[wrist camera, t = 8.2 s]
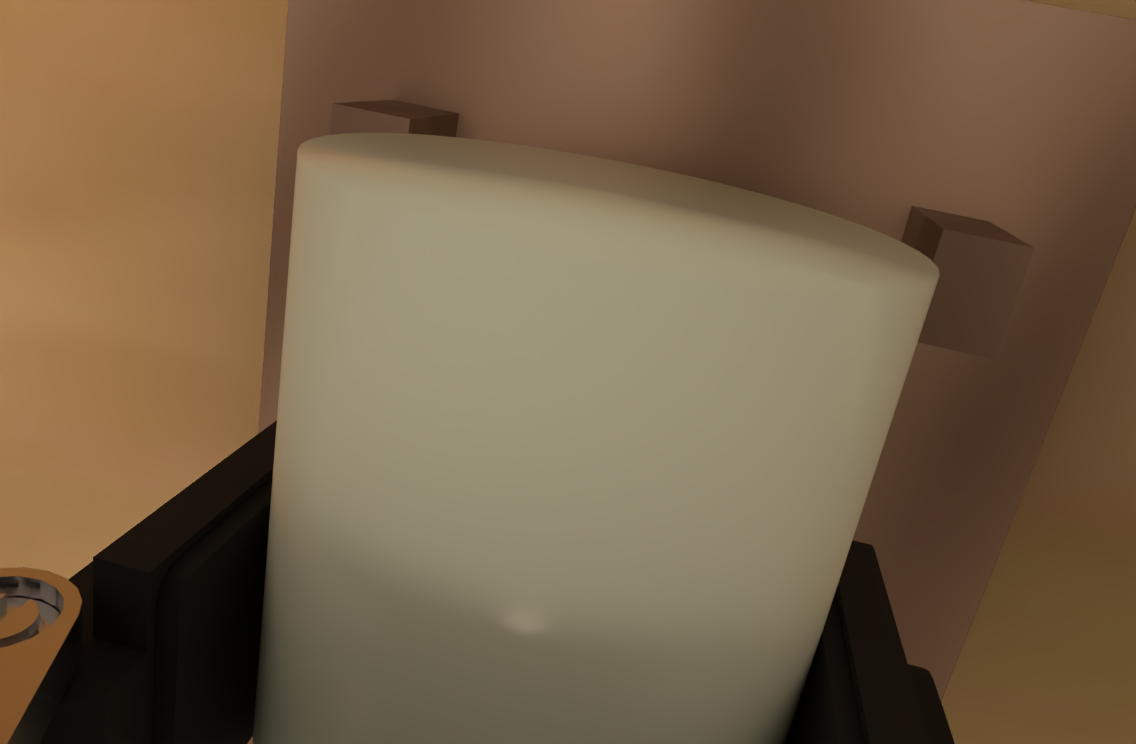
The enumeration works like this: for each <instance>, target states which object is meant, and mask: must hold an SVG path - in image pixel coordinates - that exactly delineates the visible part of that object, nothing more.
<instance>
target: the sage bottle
mask: <svg viewBox="0 0 1136 744" xmlns="http://www.w3.org/2000/svg"><path fill="white" fill-rule="evenodd" d="M939 275H940V274H939V270H938V267H937V266H936V265H935V264H934V263H933V262H932V260H931V259H929V258H928V257H926V256H925V255H924V254H922V253H921V252H919V251H917V250H916V249H914V248H912V247H910V246H908V245H906V244H905V243H903V242H900V241H898V240H896V239H894V238H892V237H889V236H887V235H885V234H883V233H880V232H878V231H875V230H873V229H870V228H868V227H865V226H863V225H860V224H857V223H854V222H851V221H849V220H846V219H843V218H840V217H837V216H834V215H831V214H828V213H825V212H822V211H819V210H816V209H813V208H809V207H806V206H802V205H799V204H796V203H792V202H789V201H786V200H782V199H778V198H775V197H771V196H768V195H764V194H760V193H757V192H753V191H749V190H745V189H741V188H737V187H733V186H730V185H725V184H721V183H717V182H713V181H709V180H705V179H700V178H696V177H692V176H687V175H683V174H678V173H674V172H669V171H664V170H660V169H655V168H650V167H645V166H640V165H635V164H630V163H625V162H620V161H615V160H609V159H604V158H598V157H593V156H587V155H581V154H575V153H569V152H563V151H557V150H551V149H544V148H537V147H531V146H524V145H517V144H509V143H502V142H494V141H485V140H477V139H468V138H458V137H447V136H436V135H421V134H404V133H344V134H334V135H326V136H321V137H317V138H313V139H310V140H308V141H306V142H304V143H302V144H301V145H300V147H299V148H298V150H297V163H296V176H295V190H294V203H293V216H292V229H291V242H290V255H289V268H288V282H287V295H286V308H285V321H284V334H283V347H282V360H281V373H280V387H279V400H278V413H277V426H276V439H275V452H274V465H273V479H272V492H271V505H270V518H269V531H268V544H267V557H266V571H265V584H264V597H263V610H262V623H261V636H260V649H259V663H258V676H257V689H256V702H255V715H254V728H253V741H252V744H785V743H786V740H787V737H788V734H789V731H790V728H791V725H792V722H793V719H794V716H795V713H796V710H797V707H798V704H799V701H800V698H801V695H802V692H803V689H804V686H805V683H806V680H807V677H808V674H809V671H810V668H811V664H812V661H813V658H814V655H815V652H816V649H817V646H818V643H819V640H820V637H821V634H822V631H823V628H824V625H825V622H826V619H827V616H828V613H829V610H830V607H831V604H832V601H833V598H834V595H835V592H836V588H837V585H838V582H839V579H840V576H841V573H842V570H843V567H844V564H845V561H846V558H847V555H848V552H849V549H850V546H851V543H852V540H853V537H854V534H855V531H856V528H857V525H858V522H859V519H860V516H861V513H862V509H863V506H864V503H865V500H866V497H867V494H868V491H869V488H870V485H871V482H872V479H873V476H874V473H875V470H876V467H877V464H878V461H879V458H880V455H881V452H882V449H883V446H884V443H885V440H886V437H887V434H888V430H889V427H890V424H891V421H892V418H893V415H894V412H895V409H896V406H897V403H898V400H899V397H900V394H901V391H902V388H903V385H904V382H905V379H906V376H907V373H908V370H909V367H910V364H911V361H912V358H913V355H914V351H915V348H916V345H917V342H918V339H919V336H920V333H921V330H922V327H923V324H924V321H925V318H926V315H927V312H928V309H929V306H930V303H931V300H932V297H933V294H934V291H935V288H936V285H937V282H938V279H939Z"/></svg>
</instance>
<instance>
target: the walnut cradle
mask: <svg viewBox="0 0 1136 744" xmlns="http://www.w3.org/2000/svg"><path fill="white" fill-rule="evenodd" d="M344 133H404V134H421V135H436V136H447V137H458V138H468V139H477V140H485V141H494V142H502V143H509V144H517V145H524V146H531V147H537V148H544V149H551V150H557V151H563V152H569V153H575V154H581V155H587V156H593V157H598V158H604V159H609V160H615V161H620V162H625V163H630V164H635V165H640V166H645V167H650V168H655V169H660V170H664V171H669V172H674V173H678V174H683V175H687V176H692V177H696V178H700V179H705V180H709V181H713V182H717V183H721V184H725V185H730V186H733V187H737V188H741V189H745V190H749V191H753V192H757V193H760V194H764V195H768V196H771V197H775V198H778V199H782V200H786V201H789V202H792V203H796V204H799V205H802V206H806V207H809V208H813V209H816V210H819V211H822V212H825V213H828V214H831V215H834V216H837V217H840V218H843V219H846V220H849V221H851V222H854V223H857V224H860V225H863V226H865V227H868V228H870V229H873V230H875V231H878V232H880V233H883V234H885V235H887V236H889V237H892V238H894V239H896V240H898V241H900V242H903V243H905V244H906V245H908V246H910V247H912V248H914V249H916V250H917V251H919V252H921V253H922V254H924V255H925V256H926V257H928V258H929V259H931V260H932V262H933V263H934V264H935V265H936V266H937V267H938V270H939V274H940V275H939V279H938V282H937V285H936V288H935V291H934V294H933V297H932V300H931V303H930V306H929V309H928V312H927V315H926V318H925V321H924V324H923V327H922V330H921V333H920V336H919V339H918V342H917V345H916V348H915V351H914V355H913V358H912V361H911V364H910V367H909V370H908V373H907V376H906V379H905V382H904V385H903V388H902V391H901V394H900V397H899V400H898V403H897V406H896V409H895V412H894V415H893V418H892V421H891V424H890V427H889V430H888V434H887V437H886V440H885V443H884V446H883V449H882V452H881V455H880V458H879V461H878V464H877V467H876V470H875V473H874V476H873V479H872V482H871V485H870V488H869V491H868V494H867V497H866V500H865V503H864V506H863V509H862V513H861V516H860V519H859V522H858V525H857V528H856V531H855V534H854V537H853V540H854V541H858V542H862V543H866V544H870V545H872V546H873V547H874V550H875V553H876V557H877V560H878V563H879V567H880V570H881V574H882V577H883V581H884V584H885V587H886V591H887V594H888V598H889V601H890V605H891V608H892V611H893V615H894V618H895V622H896V625H897V629H898V632H899V636H900V639H901V642H902V646H903V649H904V653H905V656H906V660H907V663H908V664H910V665H914V666H918V667H922V668H925V669H926V670H928V671H929V672H930V674H931V675H932V677H933V679H934V682H935V685H936V688H937V691H938V694H939V697H940V701H941V700H942V697H943V695H944V692H945V689H946V687H947V684H948V682H949V679H950V677H951V674H952V672H953V669H954V667H955V664H956V662H957V659H958V657H959V654H960V651H961V649H962V646H963V644H964V641H965V639H966V636H967V634H968V631H969V629H970V626H971V624H972V621H973V618H974V616H975V613H976V611H977V608H978V606H979V603H980V601H981V598H982V596H983V593H984V591H985V588H986V586H987V583H988V580H989V578H990V575H991V573H992V570H993V568H994V565H995V563H996V560H997V558H998V555H999V553H1000V550H1001V547H1002V545H1003V542H1004V540H1005V537H1006V535H1007V532H1008V530H1009V527H1010V525H1011V522H1012V520H1013V517H1014V515H1015V512H1016V509H1017V507H1018V504H1019V502H1020V499H1021V497H1022V494H1023V492H1024V489H1025V487H1026V484H1027V482H1028V479H1029V477H1030V474H1031V471H1032V469H1033V466H1034V464H1035V461H1036V459H1037V456H1038V454H1039V451H1040V449H1041V446H1042V444H1043V441H1044V438H1045V436H1046V433H1047V431H1048V428H1049V426H1050V423H1051V421H1052V418H1053V416H1054V413H1055V411H1056V408H1057V406H1058V403H1059V400H1060V398H1061V395H1062V393H1063V390H1064V388H1065V385H1066V383H1067V380H1068V378H1069V375H1070V373H1071V370H1072V368H1073V365H1074V362H1075V360H1076V357H1077V355H1078V352H1079V350H1080V347H1081V345H1082V342H1083V340H1084V337H1085V335H1086V332H1087V329H1088V327H1089V324H1090V322H1091V319H1092V317H1093V314H1094V312H1095V309H1096V307H1097V304H1098V302H1099V299H1100V297H1101V294H1102V291H1103V289H1104V286H1105V284H1106V281H1107V279H1108V276H1109V274H1110V271H1111V269H1112V266H1113V264H1114V261H1115V259H1116V256H1117V253H1118V251H1119V248H1120V246H1121V243H1122V241H1123V238H1124V236H1125V233H1126V231H1127V228H1128V226H1129V223H1130V220H1131V218H1132V215H1133V213H1134V210H1135V208H1136V20H1133V19H1128V18H1122V17H1116V16H1110V15H1105V14H1099V13H1093V12H1088V11H1082V10H1076V9H1071V8H1065V7H1059V6H1054V5H1048V4H1042V3H1036V2H1031V1H1025V0H288V15H287V29H286V44H285V58H284V73H283V87H282V101H281V116H280V130H279V145H278V159H277V174H276V188H275V202H274V217H273V231H272V246H271V260H270V275H269V289H268V304H267V318H266V332H265V347H264V361H263V376H262V390H261V405H260V419H259V433H260V432H262V431H263V430H264V429H266V428H267V427H268V426H270V425H271V424H272V423H274V422H275V421H276V420H277V413H278V400H279V387H280V373H281V360H282V347H283V334H284V321H285V308H286V295H287V282H288V268H289V255H290V242H291V229H292V216H293V203H294V190H295V176H296V163H297V150H298V148H299V147H300V145H301V144H302V143H304V142H306V141H308V140H310V139H313V138H317V137H321V136H326V135H334V134H344ZM259 433H258V434H259ZM252 741H253V736H252V738H251V739H250V741H249V742H248V743H247V744H252Z"/></svg>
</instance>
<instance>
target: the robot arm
mask: <svg viewBox="0 0 1136 744" xmlns="http://www.w3.org/2000/svg"><path fill="white" fill-rule="evenodd" d="M276 426H277V420H276V421H275V422H274V423H272V424H271V425H270V426H268V427H267V428H266V429H264V430H263V431H262V432H260V433H259V434H258V435H256V436H255V437H254V438H252V439H251V440H250V441H248V442H247V443H246V444H244V445H243V446H242V447H240V448H239V449H238V450H236V451H235V452H234V453H232V454H231V455H230V456H228V457H227V458H226V459H224V460H223V461H221V462H220V463H219V464H217V465H216V466H215V467H213V468H212V469H211V470H209V471H208V472H207V473H205V474H204V475H203V476H201V477H200V478H199V479H197V480H196V481H195V482H193V483H192V484H191V485H189V486H188V487H187V488H185V489H184V490H183V491H181V492H180V493H179V494H177V495H176V496H175V497H173V498H172V499H171V500H169V501H168V502H167V503H165V504H164V505H163V506H161V507H160V508H159V509H157V510H156V511H155V512H153V513H152V514H151V515H149V516H148V517H147V518H145V519H144V520H143V521H141V522H140V523H139V524H137V525H136V526H135V527H133V528H132V529H131V530H129V531H128V532H127V533H125V534H124V535H123V536H121V537H120V538H118V539H117V540H116V541H114V542H113V543H112V544H110V545H109V546H108V547H106V548H105V549H104V550H102V551H101V552H100V553H98V554H97V555H96V556H94V557H93V562H91V563H90V564H89V565H87V566H86V567H85V568H83V569H82V570H81V571H79V572H78V573H77V574H75V575H74V576H73V577H71V578H70V579H69V580H68V579H67V578H65V577H62V576H60V575H57V574H55V573H52V572H49V571H45V570H39V569H32V568H25V567H22V568H0V744H247V743H248V742H249V741H250V739H251V738H252V736H253V728H254V715H255V702H256V689H257V676H258V663H259V649H260V636H261V623H262V610H263V597H264V584H265V571H266V557H267V544H268V531H269V518H270V505H271V492H272V479H273V465H274V452H275V439H276ZM785 744H955V743H954V740H953V737H952V734H951V731H950V728H949V725H948V722H947V719H946V716H945V713H944V710H943V707H942V704H941V701H940V697H939V694H938V691H937V688H936V685H935V682H934V679H933V677H932V675H931V674H930V672H929V671H928V670H926V669H925V668H922V667H918V666H914V665H910V664H908V663H907V660H906V656H905V653H904V649H903V646H902V642H901V639H900V636H899V632H898V629H897V625H896V622H895V618H894V615H893V611H892V608H891V605H890V601H889V598H888V594H887V591H886V587H885V584H884V581H883V577H882V574H881V570H880V567H879V563H878V560H877V557H876V553H875V550H874V547H873V546H872V545H870V544H866V543H862V542H858V541H854V540H852V543H851V546H850V549H849V552H848V555H847V558H846V561H845V564H844V567H843V570H842V573H841V576H840V579H839V582H838V585H837V588H836V592H835V595H834V598H833V601H832V604H831V607H830V610H829V613H828V616H827V619H826V622H825V625H824V628H823V631H822V634H821V637H820V640H819V643H818V646H817V649H816V652H815V655H814V658H813V661H812V664H811V668H810V671H809V674H808V677H807V680H806V683H805V686H804V689H803V692H802V695H801V698H800V701H799V704H798V707H797V710H796V713H795V716H794V719H793V722H792V725H791V728H790V731H789V734H788V737H787V740H786V743H785Z"/></svg>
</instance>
